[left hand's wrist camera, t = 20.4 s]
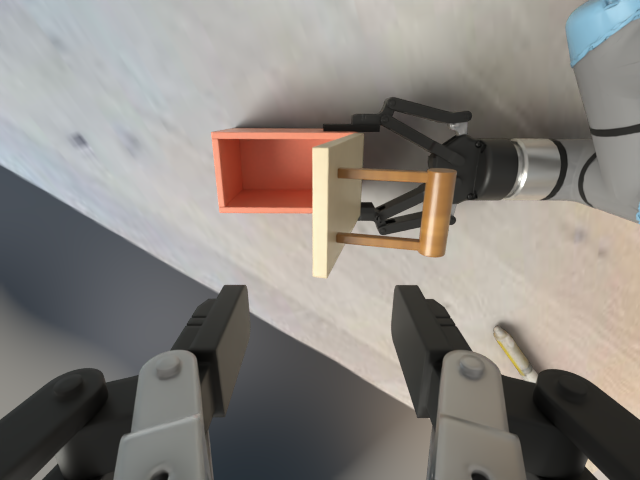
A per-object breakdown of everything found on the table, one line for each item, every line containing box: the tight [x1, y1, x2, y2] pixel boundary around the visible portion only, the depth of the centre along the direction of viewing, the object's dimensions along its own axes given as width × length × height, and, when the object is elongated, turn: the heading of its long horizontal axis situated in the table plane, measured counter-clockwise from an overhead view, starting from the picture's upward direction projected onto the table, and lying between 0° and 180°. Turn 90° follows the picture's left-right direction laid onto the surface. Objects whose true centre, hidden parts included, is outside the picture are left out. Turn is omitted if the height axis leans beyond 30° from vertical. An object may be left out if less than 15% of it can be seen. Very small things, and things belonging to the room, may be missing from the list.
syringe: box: [494, 325, 538, 383], centre depth 60 cm, size 25×4×3 cm, turn 36°
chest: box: [211, 128, 358, 213], centre depth 43 cm, size 16×9×11 cm, turn 90°
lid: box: [312, 133, 457, 278], centre depth 29 cm, size 16×9×9 cm
